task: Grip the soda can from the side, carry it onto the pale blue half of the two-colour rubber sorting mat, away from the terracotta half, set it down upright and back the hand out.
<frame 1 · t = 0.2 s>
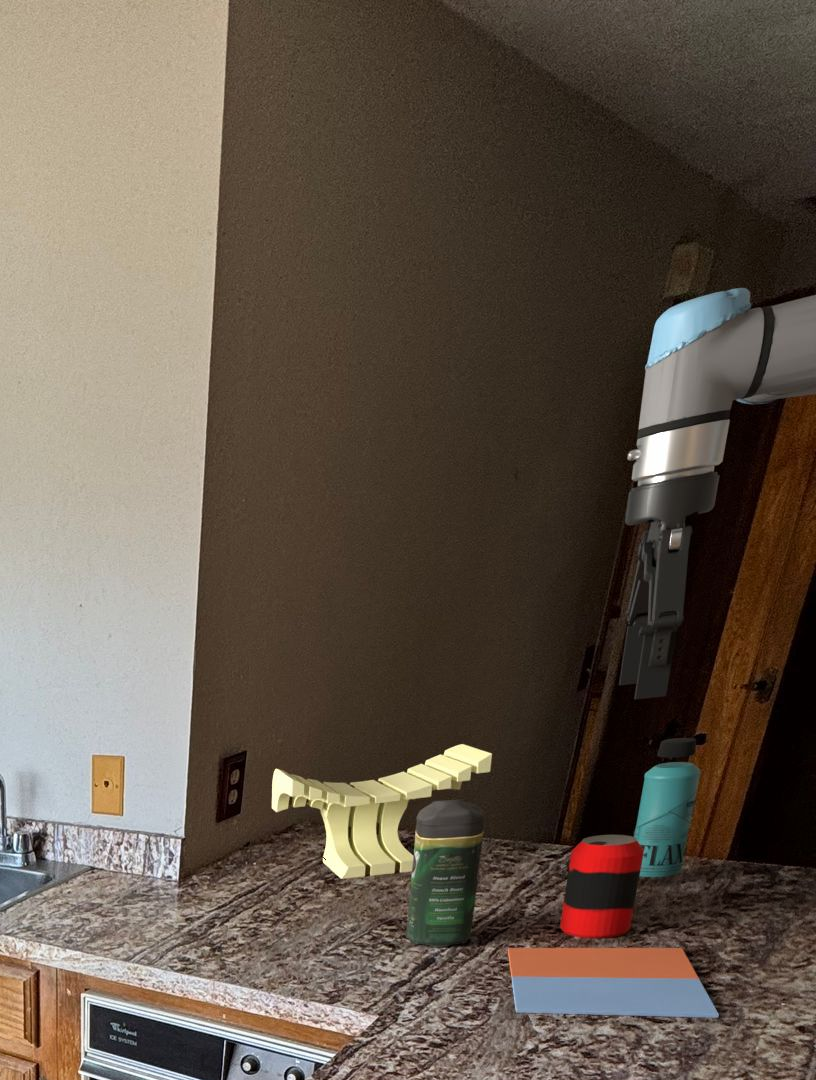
hand: (641, 690, 114), 31 cm above the countertop, tool pointing down, fingers open, 13 cm apart
teal pump bottle: (651, 882, 145), on the countertop
coffee jar: (438, 939, 139), on the countertop
sorting mat: (601, 980, 118), on the countertop
slatted curved stool: (368, 864, 176), on the countertop
soda can: (593, 931, 132), on the countertop
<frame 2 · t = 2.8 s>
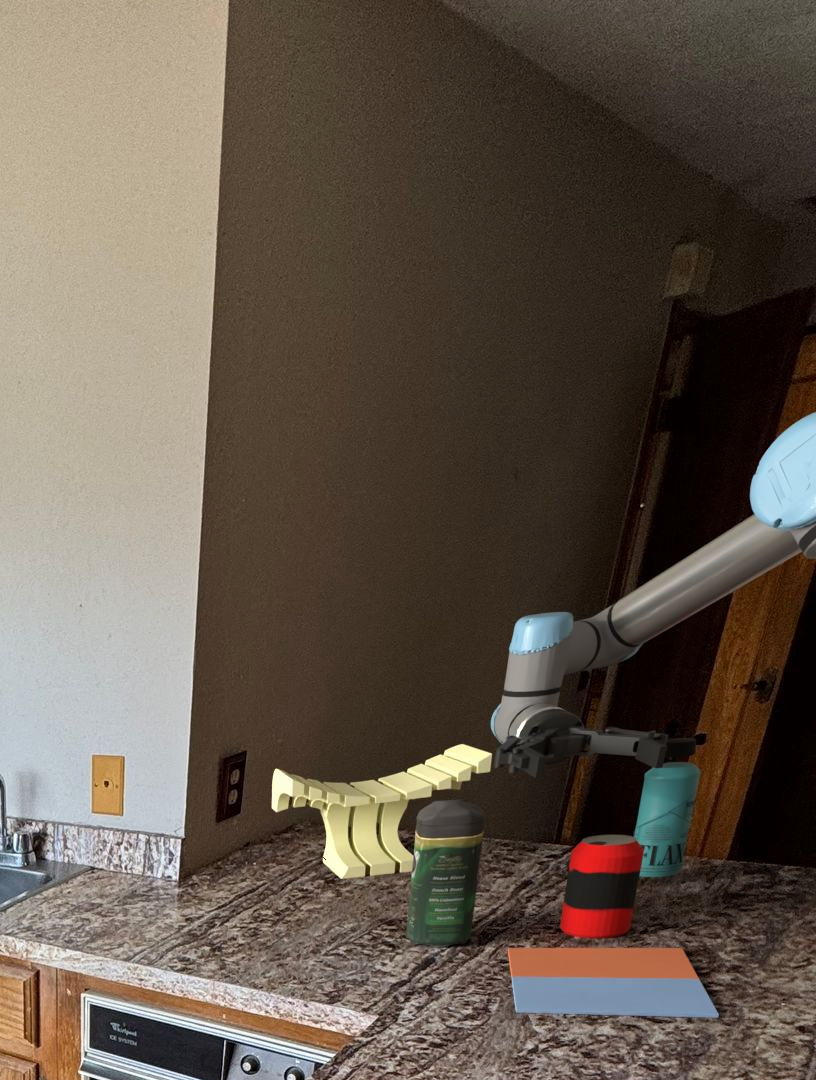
hand: (600, 762, 130), 20 cm above the countertop, tool horizontal, fingers open, 13 cm apart
nothing on the countertop moved.
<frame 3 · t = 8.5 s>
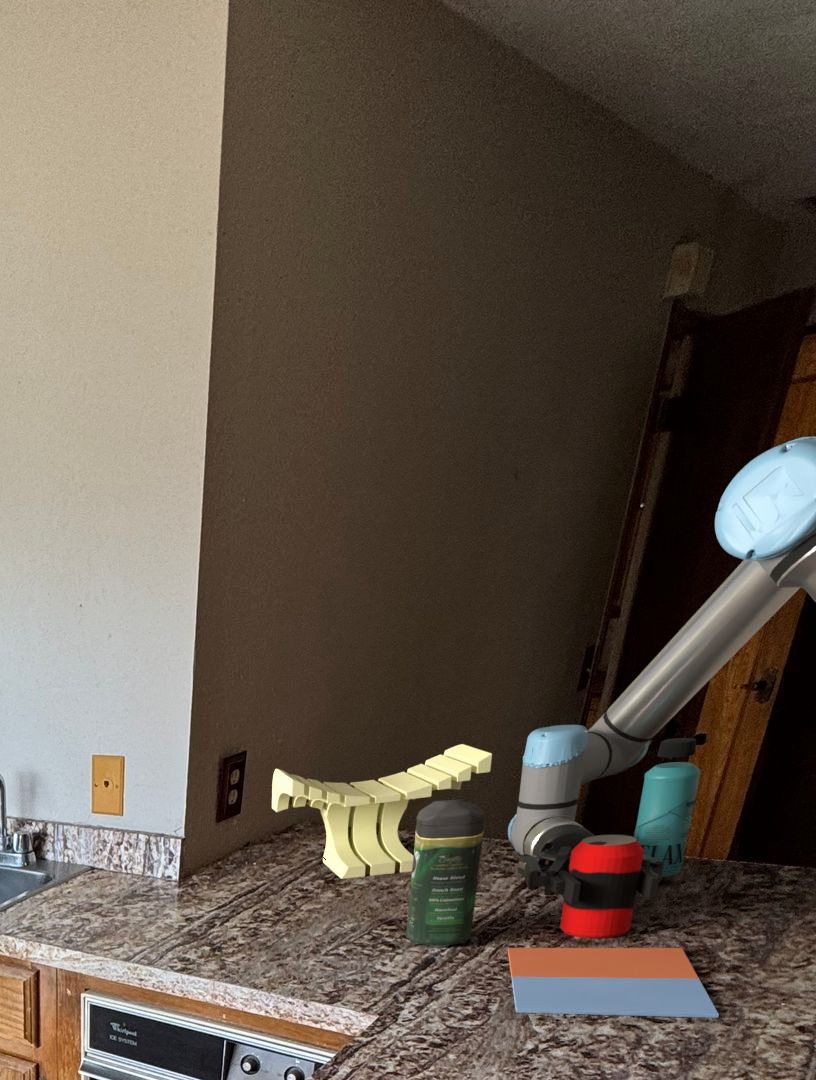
hand: (614, 891, 125), 7 cm above the countertop, tool horizontal, fingers closed on soda can, 7 cm apart
soda can: (593, 931, 132), on the countertop, touching gripper
everything else where it was.
when the fingers open (7 cm above the countertop, at t = 17.4 s): soda can stays where it is, resting on sorting mat.
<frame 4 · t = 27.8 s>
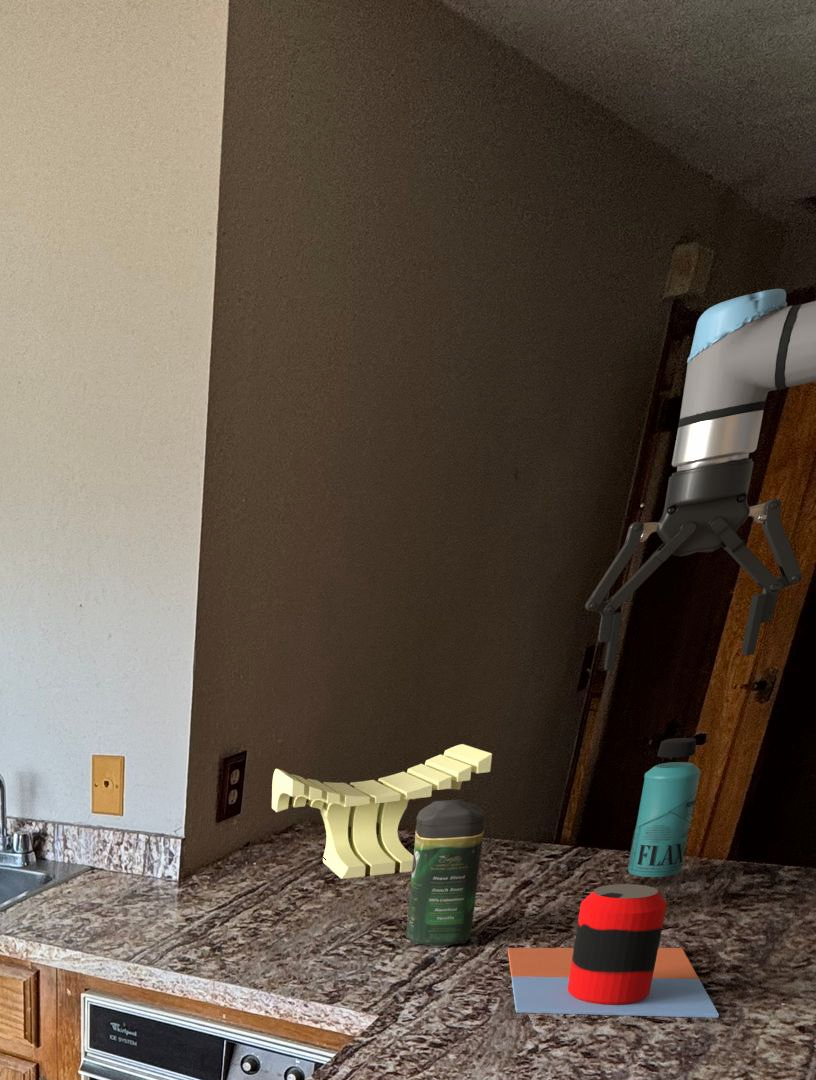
hand: (676, 662, 123), 32 cm above the countertop, tool pointing down, fingers open, 13 cm apart
soda can: (606, 995, 113), resting on sorting mat
everything else where it was.
at the end: soda can inside the target area on the sorting mat (0.3 cm from its centre), point 0.2 cm above the sorting mat's base; soda can tilted 0°; the gripper is holding nothing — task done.
